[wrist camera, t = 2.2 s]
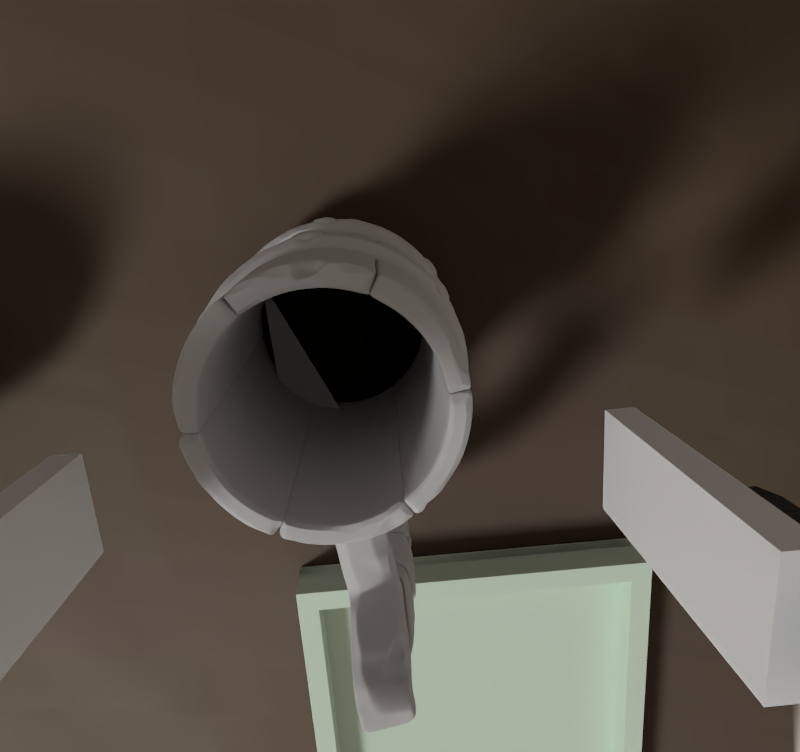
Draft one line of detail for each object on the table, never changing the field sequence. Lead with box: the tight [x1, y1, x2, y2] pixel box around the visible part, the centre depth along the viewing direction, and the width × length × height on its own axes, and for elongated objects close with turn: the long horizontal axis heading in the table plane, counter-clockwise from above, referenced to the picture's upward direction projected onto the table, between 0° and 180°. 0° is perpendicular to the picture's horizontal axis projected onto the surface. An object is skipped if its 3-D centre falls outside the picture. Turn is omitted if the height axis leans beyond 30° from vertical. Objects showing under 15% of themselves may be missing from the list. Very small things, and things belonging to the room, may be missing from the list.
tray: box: [296, 538, 652, 752], centre depth 26 cm, size 18×14×2 cm
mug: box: [172, 217, 473, 733], centre depth 17 cm, size 8×12×12 cm, turn 12°
